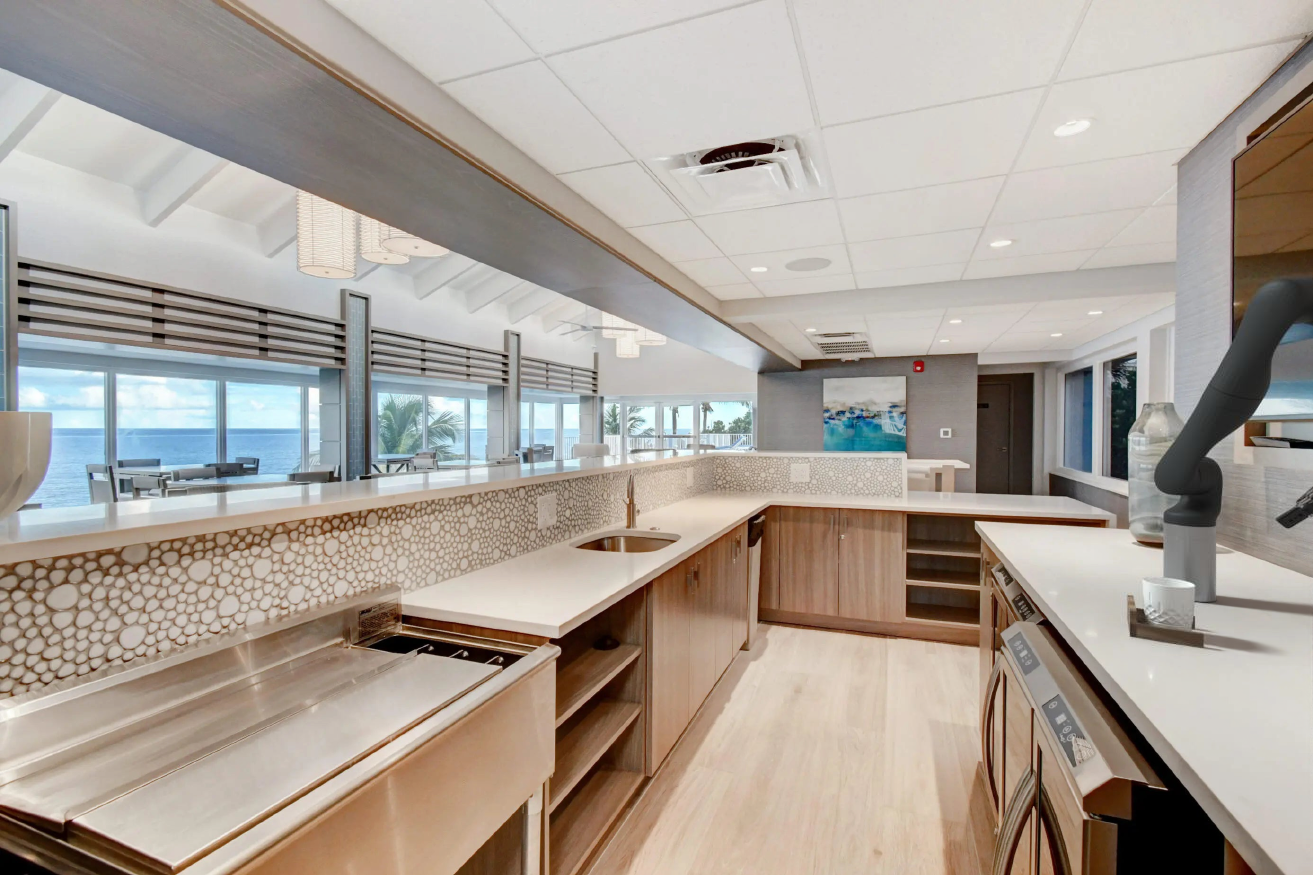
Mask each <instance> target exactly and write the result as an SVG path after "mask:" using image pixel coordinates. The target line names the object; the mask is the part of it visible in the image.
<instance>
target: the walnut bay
mask: <svg viewBox="0 0 1313 875" xmlns="http://www.w3.org/2000/svg"><path fill="white" fill-rule="evenodd" d="M1126 603H1127V604H1126V609H1127V611H1126V612H1127V613H1126V614H1127V617H1126V618H1127V626H1128V633H1129V637H1132V638H1138V639H1145V640H1152V641H1157V642H1162V643H1163V642H1164V643H1170V644H1176V645H1181V644H1182V645H1183V646H1187V647H1188V646H1189V647H1193V648H1194V647H1196V648H1201V649H1204V646H1205V644H1204V643H1205V638H1204V637H1205V636H1204V635H1205V634H1204V632H1200V631H1193V630H1196V616H1195V615H1194V616H1193V623H1192V631H1187V630H1180V629H1173V628H1166V627H1160V626H1153V625H1146V621H1145V614H1144V608H1140V607H1136V601H1135V597H1134V595H1131V594H1127V596H1126ZM1138 622H1140V623H1138Z"/></svg>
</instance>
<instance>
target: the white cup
mask: <svg viewBox="0 0 1313 875" xmlns="http://www.w3.org/2000/svg"><path fill="white" fill-rule="evenodd" d="M1141 581H1142V585H1141V586H1142V598H1143V599H1142V600H1143V609H1144V614H1145V621H1146V622H1145V624H1146V625H1153V626H1160V627H1166V628H1173V629H1180V630H1187V631H1193V629H1192V623H1193V616H1195V602H1196V601H1195V587H1196V586H1195V585H1194V584H1192V583H1190V582H1186V581H1182V580H1177V579H1170V578H1163V577H1158V576H1156V577H1155V576H1149V577H1148V576H1147V577H1143V578H1142V580H1141Z"/></svg>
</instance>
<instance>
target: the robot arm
mask: <svg viewBox="0 0 1313 875" xmlns="http://www.w3.org/2000/svg"><path fill="white" fill-rule="evenodd" d="M1298 324H1299V325H1301V324H1305V325H1308V326H1309V325H1310V326H1313V276H1294V277H1293V276H1291V277H1279V278H1276V279H1273V280H1270V281H1268V282H1266V283H1264V284H1263V285H1262V286H1260V288H1258V289H1257V290H1256V292H1254V294H1253V295H1252V297H1251V299H1250V301H1249V303H1248V306H1247V308H1246V310H1245V311H1244V315H1243V317H1242V319H1241V322H1240V325H1239V327H1238V329H1237V331H1236V334H1235V336H1234V337H1233V338H1234V339H1233V341H1232V342H1231V344H1230V345H1229V348H1228V350H1227V352H1226V353H1225V354H1224V356H1223V358H1222V360H1221V362H1220V364H1219V366H1218V367H1217V370H1216V371H1215V373H1214V375H1213V376H1212V378H1211V379H1210V380H1209V383H1207V385H1206V387H1205V390H1204V391H1203V393H1202V395H1201V396H1200V398H1199V400H1198V403H1197V404H1196V406H1195V408H1194V410H1193V411H1192V413H1191V415H1190V416H1189V418H1188V419H1187V421H1186V423H1185V425H1184V426H1183V428H1181V431H1180V432H1179V434H1178V435H1177V437H1176V438H1175V440H1174V441H1173V442H1172V444H1171V445H1170V446H1169V448H1167V450H1166V451H1165V453H1164V454H1163V456H1162V457H1161V459H1159V461H1158V463H1157V465H1156V467H1155V469H1154V473H1153V474H1154V475H1153V481H1154V485H1155V487H1156V488H1157V489H1158V490H1159V491H1160V492H1161V493H1163V494H1166V495H1169V496H1180V498H1179V500H1178V501H1177V502H1176V504H1175V505H1173V506H1171V507H1169V508H1167V509H1166V510H1164V511H1163V517H1162V518H1163V528H1162V529H1163V530H1162V532H1163V557H1162V558H1163V560H1162V561H1163V566H1162V567H1163V571H1162V572H1163V577H1162V578H1170V579H1177V580H1182V581H1186V582H1190V583H1192V584H1194V585H1195V586H1196V587H1195V602H1200V603H1201V602H1203V603H1204V602H1205V603H1207V602H1208V603H1210V602H1215V601H1217V519H1218V518H1219V516H1220V514H1221V511H1222V500H1223V490H1224V489H1223V487H1224V486H1223V485H1224V481H1223V480H1224V478H1223V472H1222V469H1221V467H1220V465H1219V464H1218V462H1217V461H1216V460H1214V459H1213V458H1211V457H1208V454H1209V453H1210V451H1211V450H1212V449H1214V448H1215V446H1216V445H1217V444H1219V443H1220V442H1222V441H1224V439H1225V438H1227V437H1229V436H1230V435H1232V434H1233V433H1234V432H1235V431H1237V430H1238V429H1240V428H1241V427H1242V426H1243V425H1244V424H1246V423H1247V422H1248V421H1249V420H1250V419H1251V418H1252V417H1253V415H1254V414H1255V413H1256V411H1257V410H1258V408H1259V406H1260V405H1261V403H1262V402H1263V400H1264V398H1265V397H1266V395H1267V393H1268V391H1269V389H1270V386H1271V380H1272V364H1273V363H1272V362H1273V357H1274V355H1275V352H1276V350H1277V348H1278V347H1279V344H1280V343H1281V342H1282V340H1283V338H1284V337H1285V335H1286V334H1287V333H1288V331H1289V329H1291V328H1292V327H1293V325H1298ZM1309 517H1310V518H1312V517H1313V486H1311V487H1310V488H1309V489H1308V490H1306V492H1305V493H1304V494H1302V495H1301V496H1300V497H1299V498H1297V499H1296V501H1295V504H1294V506H1293V507H1291V508H1290V509H1289V510H1287V511H1285V512H1284V513H1282V514H1280V515H1279V516H1277V517H1276V518H1275V522H1277V523H1278V524H1280V526H1282V527H1284V528H1286V529H1288V530H1289V529H1292V528H1293V527H1295V526H1297V525H1298V524H1300V523H1302V522H1304V521H1305V520H1307V519H1308V518H1309Z"/></svg>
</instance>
